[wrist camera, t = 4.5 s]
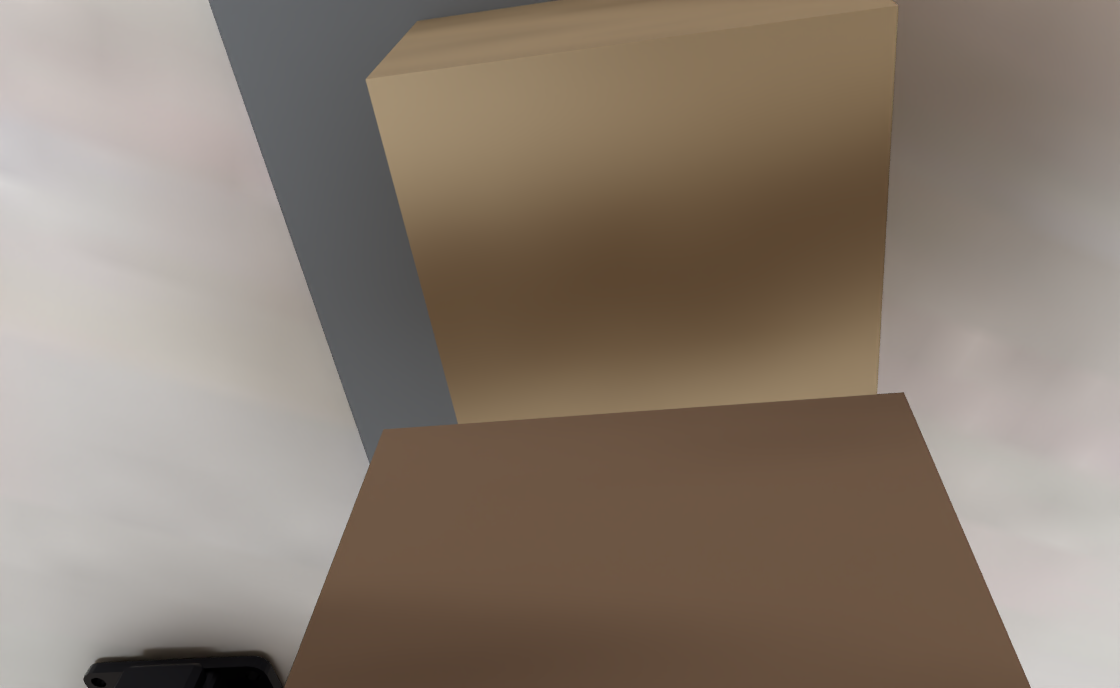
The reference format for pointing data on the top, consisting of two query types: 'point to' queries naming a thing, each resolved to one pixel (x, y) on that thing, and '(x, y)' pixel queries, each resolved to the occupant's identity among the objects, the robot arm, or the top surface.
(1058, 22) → the top surface
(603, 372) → the oak base block
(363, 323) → the mat
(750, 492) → the walnut cube
